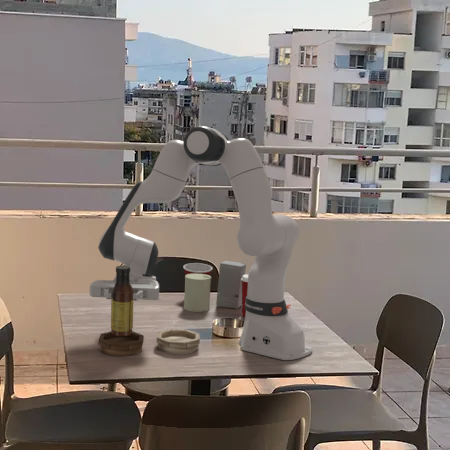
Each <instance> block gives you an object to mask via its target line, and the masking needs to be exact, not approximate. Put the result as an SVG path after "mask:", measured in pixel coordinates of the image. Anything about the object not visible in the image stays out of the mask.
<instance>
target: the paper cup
mask: <svg viewBox="0 0 450 450" xmlns="http://www.w3.org/2000/svg"><path fill="white" fill-rule="evenodd" d="M241 280H242V306H241V315H242V317H243V318H245V314H246V310H245V300H246V297H247V290H248V273H245V275H243V276H242V279H241Z"/></svg>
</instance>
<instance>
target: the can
mask: <svg viewBox="0 0 450 450" xmlns="http://www.w3.org/2000/svg"><path fill="white" fill-rule="evenodd" d="M184 279H185V280H184V302H183V309H184V311H185V310H186V311H187V312H192V313H194V312H195V313H204V312H208V311H210V308H211V307H210V301H211V299H210V298H211V281H212V276H211V275H206V274H187V275H185V276H184Z"/></svg>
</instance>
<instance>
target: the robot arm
mask: <svg viewBox="0 0 450 450" xmlns="http://www.w3.org/2000/svg"><path fill="white" fill-rule="evenodd" d="M197 165H198V166H208V167H217V166H220V165H221V166H222V167H223V168H224V170H225V171H226V172H225V173H226V174H227V178H228V180H229V182H230V186H231V188H232V191H233V194H234V197H235V200H236V203H237V208H238V214H239V215H238V217H239V229H238V231H237V235H236V241H237V246H238V248H239V249H240V250H241V252H242V253H244V254H245V255H248V256H252V257H255V258H254V261H253V263H252V266H251V267H250V269H249V271H248V273H247V274H248V290H247V297H246V300H245V310H246V314H245V317H244V321H243V327H242V332H241V335H240V337H239V340H238V343H239V345H240V351H241V350H242V351H244V352H249V353H254V354H257V355H262V356H265V357H270V358H273V359H278V360H281V361H292V360H298V359H302V358H304V357H307V356H309V355H311V353H312V352H313V347H311V346H309V345H308V344H306V341H305V339H306V338H305V333H304V330H303V329H302V327H300V326H299V324H298V323H297V322H296V321H295V320H294V318H292V316H291V315H290V314H289V309H291V308H292V307H291V306H292V304H287V303H286V300H285V288H286V286H285V285H286V275H287V271H288V266H289V264H290V263H289V262H290V259H291V256H292V253H293V249H294V246H295V244H296V243H297V241H298V239H299V236H300V227H299V224H298V222H297V221H296V220H295V219H294V218H293V217H290V216H288V215H285V214H284V215H283V214H273V208H272V198H273V193H274V192H273V188H272V185H271V183H270V180H269V178H268V175H267V174H268V173H267V172H266V169H265V166H264V164H263V160H262V159H261V157H260V155H259V153H258V151H257V149H256V148H255V146H254V144H253V143H252V142H251V140H249V139H248V138H245V137H238V138H233V139H231V140H229V138H228V137H227V135H225V134H224V133H222V132H220V131H219V130H218V129H215V128H213V127H209V126H205V125H199V126H198V125H197V126H194V127H193V128H191V129H189V130H188V131H187V132H186V134H185V135H184V138H183V140H180V139H171V140H169V141H167V142H166V143H165V145H164V146H163V147H162V149H161V151H160V153H159V154H158V156H157V159H156V161H155V162H154V165H153V167H152V170H151V172H150V173H149V175H148V176H147V178H145V179H144V180H143V181H138V182H136V183H135V185H133V187H132V189H131V190H130V192H129V193H128V195H127V196H126V198H125V200H124V201H123V203H122V205H121V206H120V208H119V209H118V211H117V213H116V214H115V216H114V217H113V219H112V221H111V223H110V225H109V226H108V228H106V230H105V231H104V232H103V234H102V235H101V236H100V238H99V241H98V247H97V248H98V250H99V252H100V255H101V256H102V258H104V259H106V260H107V259H108V260H111V261H116V262H119V263H121V264H123V265H125V266H129V267H130V273H129V280H130V282H129V283H130V285H131V286H132V289H133V301H135V302H136V301H139V300H148V301H149V300H150V301H158V300H159V298H160V283H159V282H158V281H157V277H156V276H155V275H151V274H152V273H153V271H154V269H155V266H156V263H157V261H158V256H159V248H158V246H157V243H156V242H155V241H153V240H150V239H148V238H146V237H145V238H144V237H142V236H139V235H136V234H134V233H131V232H128V231H126V230H125V228H124V227H125V226H126V224H127V222H128V221H129V219H130V218H131V216H132V215H133V212H134V211H135V209H136V208H137V207H138V206H140V205H142V204H164V203H165V204H167V203H170V202H173V201H175V200H177V199H178V198H179V197H180V196H181V194H182V193H183V191H184V189H185V186H186V184H187V182H188V179H189V177H190V173H191V171H192V170H193V168H194V167H196V166H197ZM115 283H116V275H115V277H114V278H113V280H111V279H110V280H109V279H97V280H94V281H92V282H91V283H90V284H89V296H90V297H92V298H105V300H111V295H112V292H113V289H114V286H115Z"/></svg>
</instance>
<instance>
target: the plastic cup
mask: <svg viewBox="0 0 450 450" xmlns="http://www.w3.org/2000/svg"><path fill="white" fill-rule="evenodd" d="M183 269H184V273H185V275H187V274H206V275H209V276H211V272H212V271H213V266H211V265H209V264H206V263H201V262H200V263H199V262H194V263H193V262H192V263H191V262H190V263H186V264H184V265H183Z"/></svg>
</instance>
